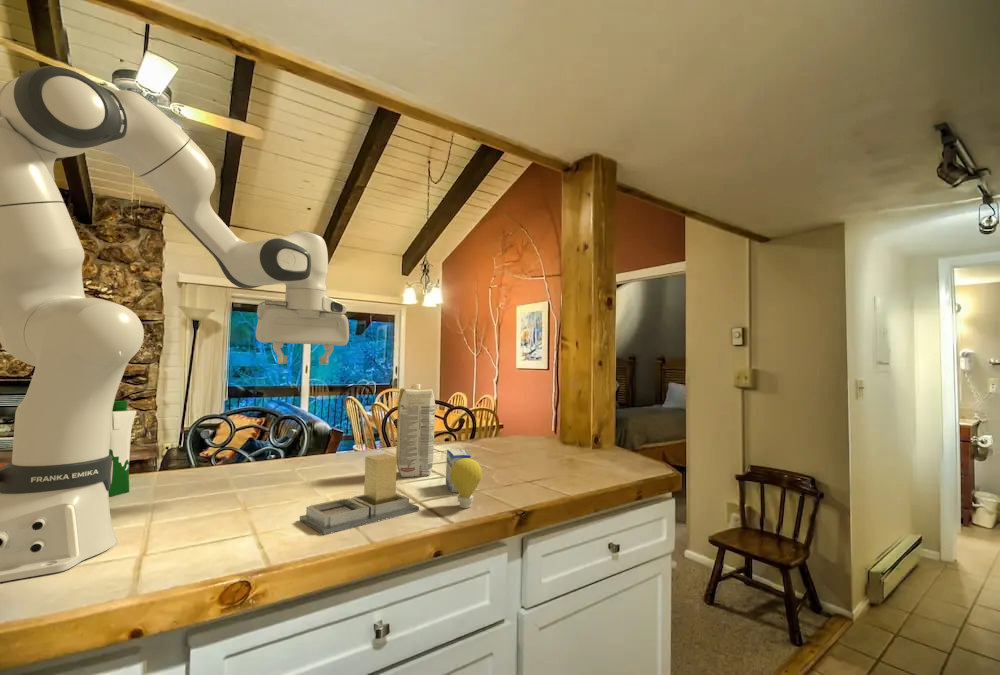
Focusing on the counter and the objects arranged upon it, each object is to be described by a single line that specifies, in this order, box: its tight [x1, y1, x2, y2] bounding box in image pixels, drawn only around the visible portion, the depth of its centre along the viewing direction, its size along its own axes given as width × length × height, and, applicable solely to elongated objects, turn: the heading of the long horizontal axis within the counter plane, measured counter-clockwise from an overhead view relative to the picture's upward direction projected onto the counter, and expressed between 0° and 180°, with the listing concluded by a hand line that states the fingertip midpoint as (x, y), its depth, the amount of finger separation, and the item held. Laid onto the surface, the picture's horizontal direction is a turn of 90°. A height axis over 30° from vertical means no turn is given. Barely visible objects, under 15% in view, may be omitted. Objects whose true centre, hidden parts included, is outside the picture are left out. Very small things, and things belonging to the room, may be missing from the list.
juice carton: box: [395, 383, 436, 478], centre depth 127 cm, size 9×8×24 cm
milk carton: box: [108, 399, 137, 498], centre depth 102 cm, size 9×9×20 cm
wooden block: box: [363, 453, 398, 505], centre depth 95 cm, size 4×4×10 cm
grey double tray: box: [299, 492, 420, 535], centre depth 92 cm, size 20×10×3 cm, turn 135°
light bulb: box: [450, 458, 483, 509], centre depth 99 cm, size 7×7×10 cm
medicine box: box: [445, 448, 472, 494], centre depth 113 cm, size 8×4×9 cm, turn 17°
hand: (303, 364), depth 108 cm, fingers open, 8 cm apart
